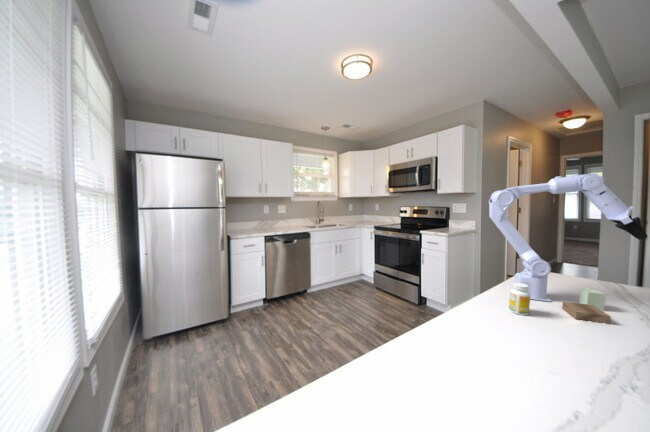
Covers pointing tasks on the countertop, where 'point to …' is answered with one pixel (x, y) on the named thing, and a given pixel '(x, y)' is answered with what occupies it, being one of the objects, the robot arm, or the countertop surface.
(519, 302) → the supplement bottle
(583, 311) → the walnut block
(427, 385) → the countertop surface
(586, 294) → the sage block
